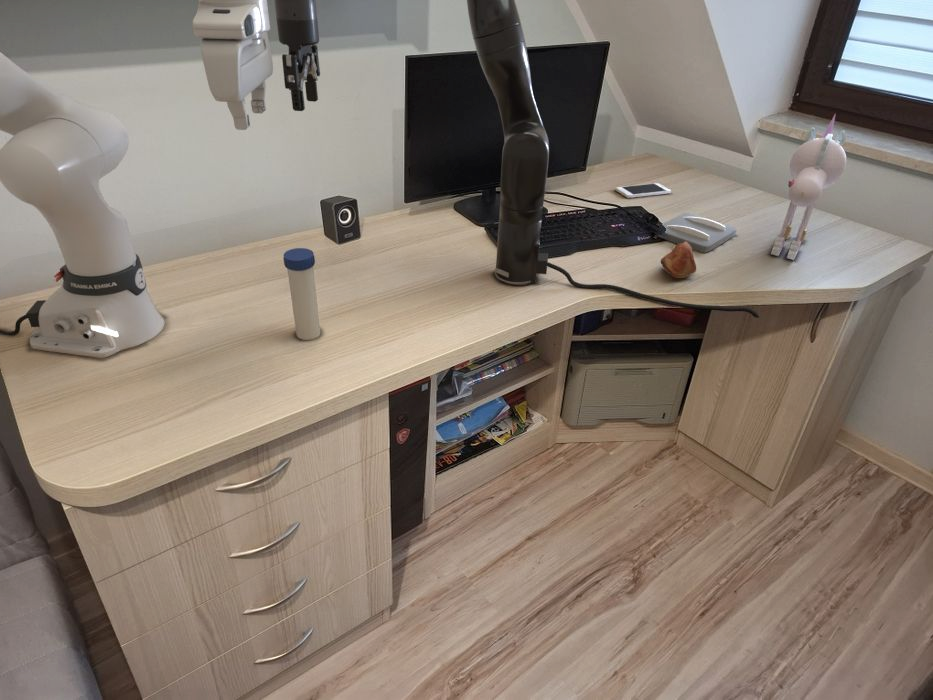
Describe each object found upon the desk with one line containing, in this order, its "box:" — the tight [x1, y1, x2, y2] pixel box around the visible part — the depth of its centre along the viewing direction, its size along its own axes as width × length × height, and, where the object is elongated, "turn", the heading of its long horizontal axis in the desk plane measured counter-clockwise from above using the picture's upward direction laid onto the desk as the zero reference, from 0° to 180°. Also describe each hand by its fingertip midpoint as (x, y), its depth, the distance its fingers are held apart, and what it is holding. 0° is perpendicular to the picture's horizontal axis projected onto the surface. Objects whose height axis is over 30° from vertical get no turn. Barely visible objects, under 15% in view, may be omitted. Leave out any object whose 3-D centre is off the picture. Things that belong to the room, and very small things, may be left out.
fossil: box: [660, 241, 697, 279], centre depth 147 cm, size 13×8×10 cm
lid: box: [282, 247, 316, 271], centre depth 113 cm, size 5×5×2 cm
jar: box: [287, 266, 321, 341], centre depth 118 cm, size 4×4×16 cm
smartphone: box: [615, 182, 672, 199], centre depth 194 cm, size 7×16×1 cm, turn 111°
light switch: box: [654, 212, 737, 253], centre depth 167 cm, size 18×3×15 cm
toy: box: [770, 112, 847, 261], centre depth 159 cm, size 12×36×30 cm, turn 148°
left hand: (251, 120), depth 95 cm, fingers open, 8 cm apart
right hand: (306, 105), depth 129 cm, fingers open, 8 cm apart
